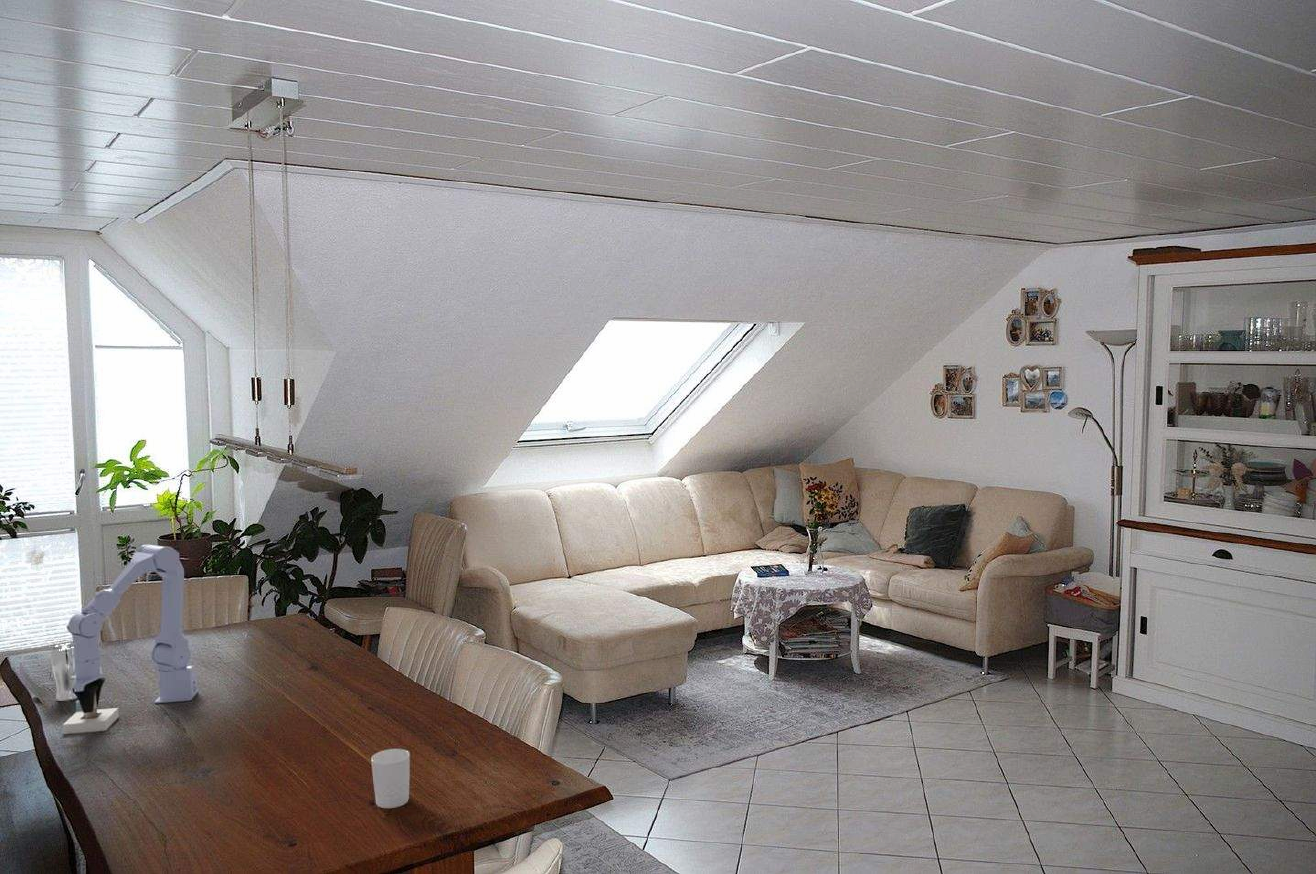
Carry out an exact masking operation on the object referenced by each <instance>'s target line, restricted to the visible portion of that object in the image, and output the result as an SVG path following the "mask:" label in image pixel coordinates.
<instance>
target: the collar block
mask: <svg viewBox="0 0 1316 874" xmlns="http://www.w3.org/2000/svg"><path fill="white" fill-rule="evenodd" d="M119 717H120V713H119V707H113V708H102V709H97V718H93V719H84V713H83V711H77V710H76V712H75V713H74V714H73V715H72V716H71V717H70V718H68V719H67V720H66V721H65V722H64V723H62V732H63V733H62V734H63V735H69V734H70V733H71V734H79V733H80V734H81V733H93V732H104V731H107V730H108V729H109V728H110V727H111V726H112V725H113V724H114V723H115V722H116V721H117V719H119Z"/></svg>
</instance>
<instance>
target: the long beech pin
mask: <svg viewBox="0 0 1316 874" xmlns="http://www.w3.org/2000/svg"><path fill="white" fill-rule="evenodd" d="M97 710H98V707H97V704H96V693H95V698H94V709H93V712H88V713H84V719H93V718H97Z"/></svg>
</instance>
